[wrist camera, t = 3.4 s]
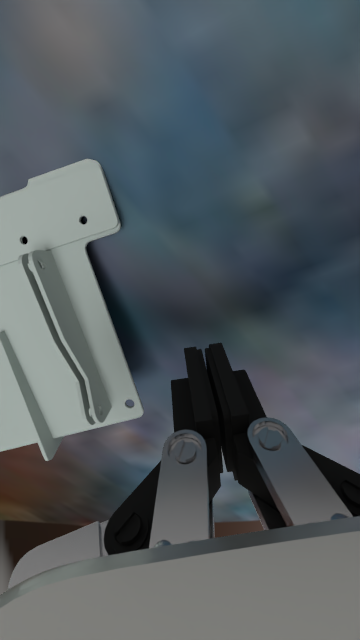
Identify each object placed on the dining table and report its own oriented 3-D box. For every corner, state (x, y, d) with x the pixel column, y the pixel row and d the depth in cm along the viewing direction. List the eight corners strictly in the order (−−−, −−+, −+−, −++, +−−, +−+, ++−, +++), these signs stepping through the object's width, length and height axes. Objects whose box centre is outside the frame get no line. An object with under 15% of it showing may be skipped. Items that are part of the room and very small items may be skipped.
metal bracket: (183, 443, 12) (-88, 505, 14) (186, 385, 18) (-8, 435, 20) (70, 107, 10) (-254, 235, 11) (115, 163, 15) (-105, 243, 17)
